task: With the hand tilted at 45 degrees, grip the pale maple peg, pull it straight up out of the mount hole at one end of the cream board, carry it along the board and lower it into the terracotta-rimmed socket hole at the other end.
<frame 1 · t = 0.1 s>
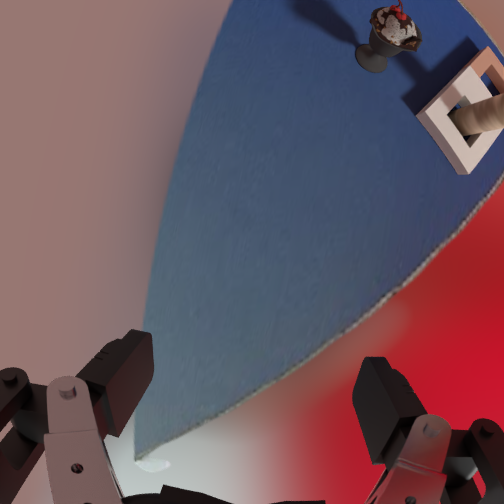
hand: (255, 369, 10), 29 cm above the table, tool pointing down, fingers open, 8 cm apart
peg: (457, 123, 33), resting in dock board
sundae: (370, 58, 33), on the table
dock board: (473, 105, 32), on the table
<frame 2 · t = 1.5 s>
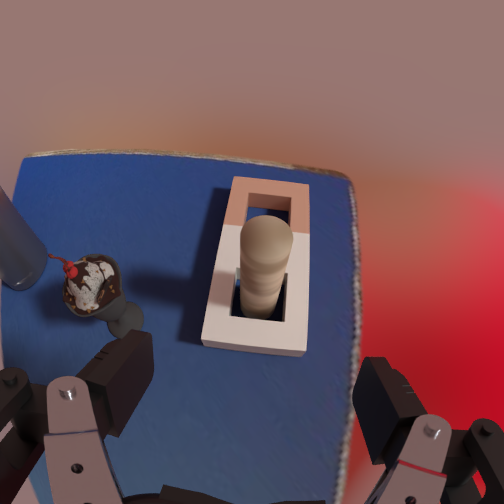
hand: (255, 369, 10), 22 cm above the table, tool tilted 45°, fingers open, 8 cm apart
peg: (257, 304, 35), resting in dock board
sundae: (125, 321, 33), on the table
dock board: (262, 261, 38), on the table
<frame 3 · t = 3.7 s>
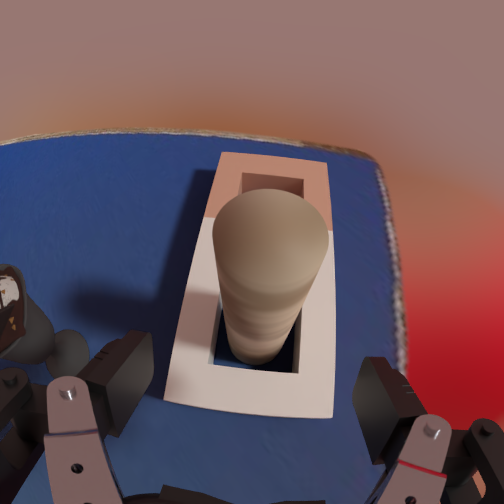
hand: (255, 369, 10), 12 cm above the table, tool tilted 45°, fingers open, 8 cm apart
peg: (255, 339, 22), resting in dock board
sundae: (67, 357, 20), on the table
dock board: (263, 272, 26), on the table
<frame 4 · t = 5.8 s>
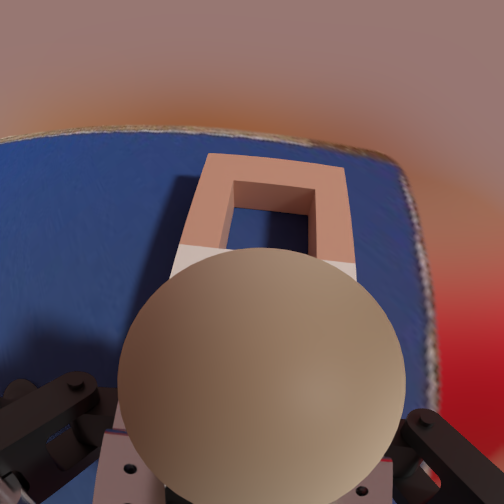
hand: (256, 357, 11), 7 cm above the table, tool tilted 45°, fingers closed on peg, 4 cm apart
peg: (248, 410, 15), resting in dock board, touching gripper
sundae: (25, 411, 14), on the table
dock board: (260, 317, 19), on the table
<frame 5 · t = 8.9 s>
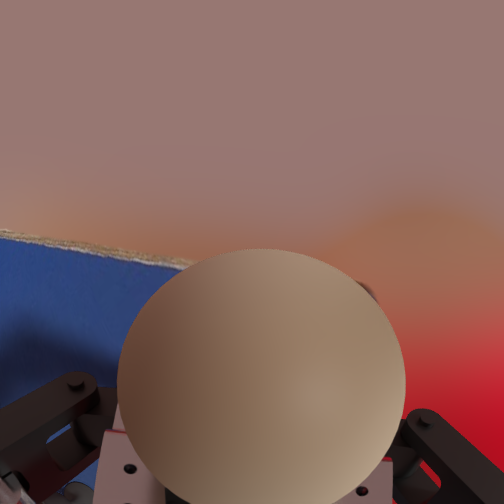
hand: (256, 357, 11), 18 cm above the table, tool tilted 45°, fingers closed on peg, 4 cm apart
peg: (248, 410, 15), point 11 cm above the table, touching gripper
sundae: (83, 501, 18), on the table
when the fingers open (8 cm above the table, at t = 11.9 s): peg drops 1 cm, resting in dock board.
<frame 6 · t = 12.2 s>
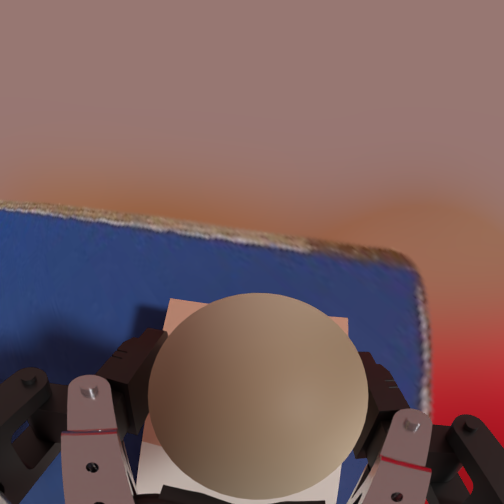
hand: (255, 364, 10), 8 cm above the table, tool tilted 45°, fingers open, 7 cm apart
peg: (247, 412, 17), resting in dock board
dock board: (236, 494, 13), on the table
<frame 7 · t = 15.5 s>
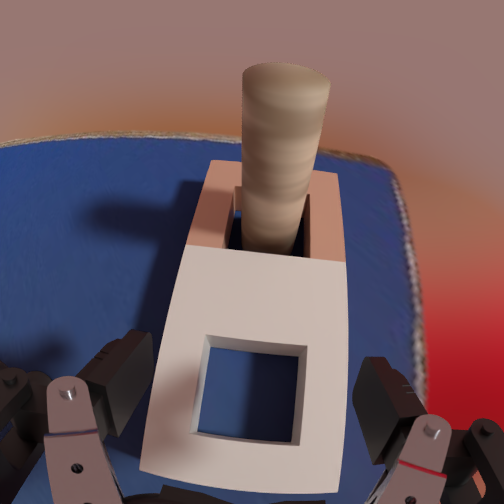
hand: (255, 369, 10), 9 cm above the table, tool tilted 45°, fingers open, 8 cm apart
peg: (267, 242, 24), resting in dock board
sundae: (38, 401, 16), on the table
dock board: (259, 311, 21), on the table
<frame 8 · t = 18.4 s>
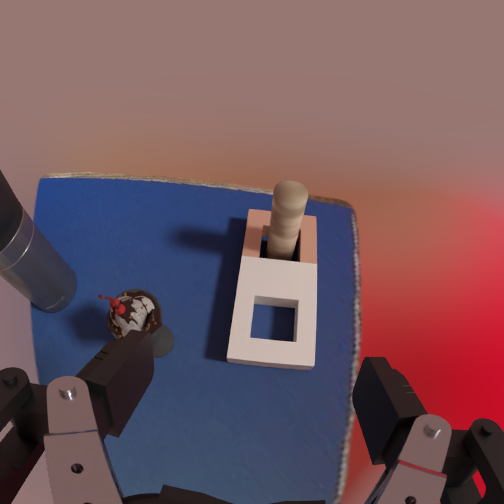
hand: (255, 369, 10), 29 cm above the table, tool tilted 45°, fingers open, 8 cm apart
peg: (279, 254, 47), resting in dock board
sundae: (157, 341, 39), on the table
dock board: (276, 287, 44), on the table
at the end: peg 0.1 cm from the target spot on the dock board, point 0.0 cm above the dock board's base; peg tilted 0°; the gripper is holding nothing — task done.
